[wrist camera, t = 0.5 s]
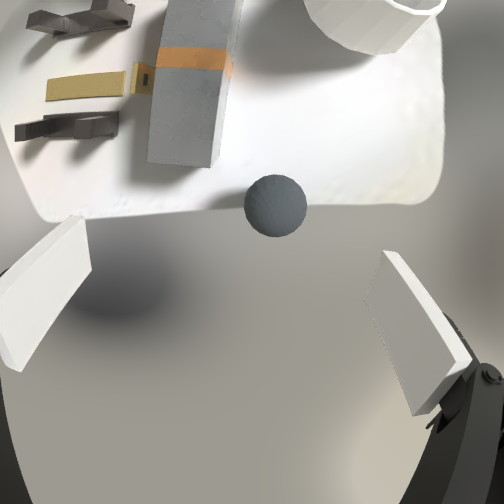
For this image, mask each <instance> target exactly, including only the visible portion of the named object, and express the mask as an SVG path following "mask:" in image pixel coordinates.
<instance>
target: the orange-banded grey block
mask: <svg viewBox="0 0 504 504" xmlns="http://www.w3.org/2000/svg"><path fill="white" fill-rule="evenodd" d="M242 5H243V0H169V2H168V6H167V11H166V15H165V20H164V25H163V30H162V36H161V41H160V47H159V49H158V55H157V62H156V73H155V80H154V88H153V97H152V106H151V115H150V126H149V138H148V153H147V163H160V164H172V165H183V166H193V167H202V168H211V166H212V165H213V163H214V162H215V160H216V159H217V157H218V156H219V153H220V145H221V138H222V130H223V123H224V115H225V108H226V101H227V94H228V88H229V81H230V78H231V71H232V65H233V56H234V50H235V44H236V38H237V33H238V27H239V22H240V16H241V11H242Z"/></svg>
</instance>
